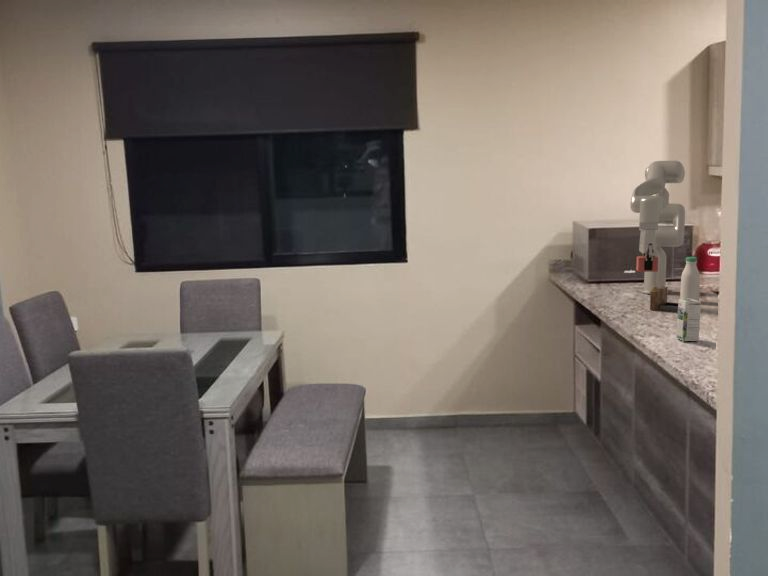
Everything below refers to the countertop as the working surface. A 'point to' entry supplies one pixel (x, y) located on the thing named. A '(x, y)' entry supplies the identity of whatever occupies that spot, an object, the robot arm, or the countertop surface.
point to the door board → (657, 297)
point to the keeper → (669, 306)
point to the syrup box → (688, 320)
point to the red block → (642, 261)
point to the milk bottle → (690, 280)
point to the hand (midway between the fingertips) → (647, 268)
